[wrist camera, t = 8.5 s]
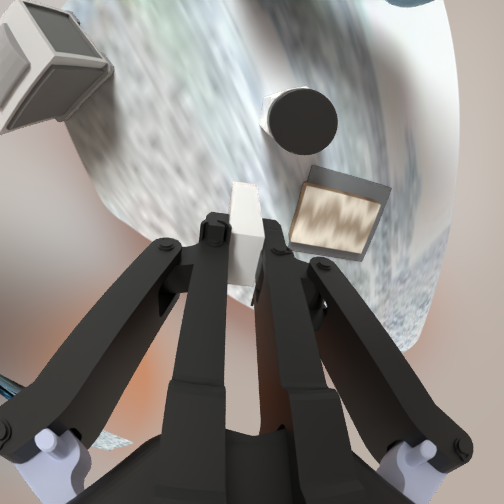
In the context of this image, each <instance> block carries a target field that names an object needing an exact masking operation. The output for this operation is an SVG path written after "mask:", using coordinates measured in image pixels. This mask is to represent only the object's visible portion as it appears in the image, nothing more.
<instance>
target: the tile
mask: <svg viewBox="0 0 504 504" xmlns="http://www.w3.org/2000/svg"><path fill="white" fill-rule="evenodd" d="M380 206H381V205H380V204H379V203H378V202H377V201H376V200H374V199H370V198H367V197H363V196H359V195H356V194H352V193H348V192H344V191H340V190H336V189H332V188H328V187H324V186H320V185H316V184H312V183H307V182H304V183H303V187H302V190H301V194H300V197H299V200H298V204H297V207H296V211H295V214H294V218H293V221H292V224H291V228H290V231H289V234H288V235H289V238H290V241H291V242H297V243H303V244H308V245H314V246H320V247H326V248H332V249H338V250H343V251H349V252H355V253H360V254H361V253H362V250H363V248H364V246H365V243H366V241H367V239H368V236H369V234H370V231H371V229H372V226H373V224H374V221H375V219H376V216H377V214H378V211H379V209H380Z"/></svg>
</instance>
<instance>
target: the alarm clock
mask: <svg viewBox="0 0 504 504" xmlns="http://www.w3.org/2000/svg"><path fill="white" fill-rule="evenodd" d="M79 22H80V21H79V20H78V19H77V18H76V16H75V15H74V14H73V12H71V11H66V10H65V11H63V10H60V9H57V8H54V7H51V6H48V5H44V4H41V3H37V2H33V1H30V0H14V2H13V3H12V4H11V5H10V6H9V8H8V9H7V10H6V12H5V13H4V14H3V15H2V17H1V18H0V135H2V134H5V133H8V132H11V131H14V130H17V129H20V128H23V127H26V126H30V125H33V124H36V123H40V122H43V121H47V120H51V119H56V120H57V121H58V122H62V121H66V120H68V119H69V118H70V117H71V116H72V115H73V114H74V113H75V112H76V110H77V109H78V108H79V107H80V106H81V105H82V104H83V103H84V102H85V101H86V100H87V99H88V98H89V97H90V96H91V95H92V94H93V93H94V92H95V91H96V90H97V89H98V88H99V87H100V86H101V85H102V84H103V83H104V82H105V81H106V80H107V79H108V78H109V77H110V76H111V75H112V74H113V72H114V66H113V65H112V63H111V62H110V61H109V59H108V58H107V57H106V56H105V54H104V53H101V52H99V51H98V49H97V48H96V47H95V45H94V44H93V43H92V41H91V40H90V39H89V38H88V36H87V35H86V34H85V32H84V31H83V30H82V28H81V27H80V26H79V24H78V23H79Z"/></svg>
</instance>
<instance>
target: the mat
mask: <svg viewBox="0 0 504 504" xmlns="http://www.w3.org/2000/svg"><path fill="white" fill-rule="evenodd" d="M307 183H312V184H316V185H320V186H324V187H328V188H332V189H336V190H340V191H344V192H348V193H352V194H356V195H359V196H363V197H367V198H370V199H374V200H376V201H377V202H378V203H379V204H380V205H381V206H380V209H379V211H378V214H377V216H376V219H375V221H374V224H373V226H372V229H371V231H370V234H369V236H368V239H367V241H366V243H365V246H364V248H363V250H362V253H361V254H360V253H355V252H349V251H343V250H338V249H332V248H326V247H320V246H314V245H308V244H303V243H297V242H291V241H290V242H289V245H288V247H289V248H290V249H291V250H293V251H300V252H306V253H312V254H318V255H325V256H331V257H337V258H343V259H349V260H355V261H363V258H364V256H365V254H366V252H367V249H368V247H369V245H370V242H371V240H372V238H373V235H374V233H375V230H376V228H377V226H378V223H379V221H380V218H381V216H382V213H383V210H384V208H385V205H386V203H387V200H388V197H389V195H390V192H391V189H392V188H390V187H386V186H383V185H380V184H377V183H374V182H371V181H367V180H364V179H361V178H357V177H354V176H351V175H347V174H344V173H340V172H336V171H333V170H329V169H325V168H321V167H317V166H313V165H312V167H311V171H310V174H309V178H308V181H307Z"/></svg>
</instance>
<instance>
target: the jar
mask: <svg viewBox="0 0 504 504" xmlns="http://www.w3.org/2000/svg"><path fill="white" fill-rule="evenodd" d="M259 125H260V126H261V127H262V128H263V130H264V131H265V132H266V133H267V134H269V135H270V136H271V137H272V138H274V140H275V141H276V142H277V143H278V144H279V145H280V146H281V147H282V148H284V149H285V150H287V151H289V152H291V153H292V154H298V155H311V154H315V153H317V152H320V151H321V150H323V149H324V148H326V147H327V146H328V145H329V144H330V143H331V141H332V140H333V138H334V136H335V134H336V131H337V126H338V119H337V114H336V111H335V108H334V106H333V105H332V103H331V102H330V101H329V99H328V98H326V97H325V96H324V95H323V94H321V93H319V92H318V91H315V90H312V89H309V88H308V87H306V86H304V87H297V88H291V89H288V90H284V91H281V92H278V93H275V94H272V95H269V96H266V97H264V101H263V106H262V112H261V118H260V124H259Z"/></svg>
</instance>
